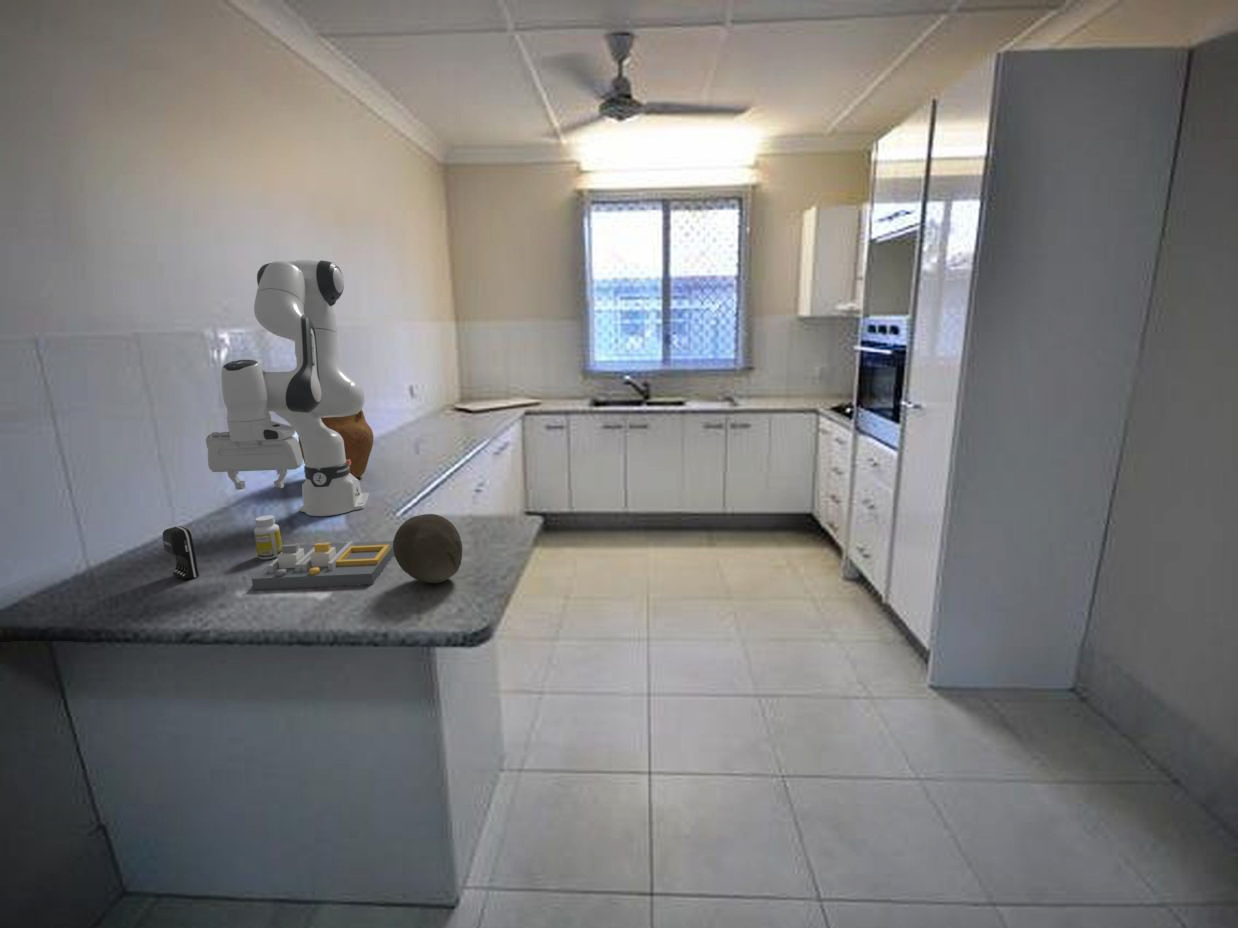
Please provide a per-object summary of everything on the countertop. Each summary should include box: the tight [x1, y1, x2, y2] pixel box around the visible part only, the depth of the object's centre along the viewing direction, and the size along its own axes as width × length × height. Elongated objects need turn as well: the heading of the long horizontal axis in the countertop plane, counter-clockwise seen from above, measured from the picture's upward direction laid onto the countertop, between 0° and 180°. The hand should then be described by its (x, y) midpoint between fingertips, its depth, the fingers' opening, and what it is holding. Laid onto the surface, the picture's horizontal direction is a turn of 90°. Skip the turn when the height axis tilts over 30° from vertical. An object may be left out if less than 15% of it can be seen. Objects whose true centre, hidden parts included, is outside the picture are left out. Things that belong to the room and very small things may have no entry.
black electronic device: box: [162, 525, 200, 581], centre depth 140 cm, size 7×4×11 cm, turn 55°
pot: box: [297, 408, 375, 479], centre depth 220 cm, size 24×24×30 cm
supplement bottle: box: [253, 514, 283, 560], centre depth 151 cm, size 5×5×10 cm
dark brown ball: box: [392, 513, 463, 584], centre depth 134 cm, size 14×14×15 cm
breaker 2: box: [310, 542, 336, 567], centre depth 140 cm, size 4×4×5 cm
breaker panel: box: [251, 540, 395, 591], centre depth 144 cm, size 20×25×4 cm
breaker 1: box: [276, 543, 305, 568], centre depth 139 cm, size 4×4×5 cm
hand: (260, 488), depth 149 cm, fingers open, 8 cm apart
